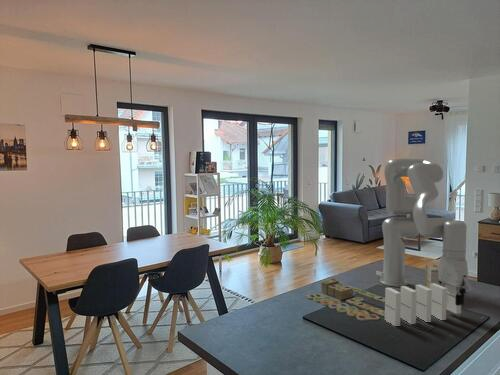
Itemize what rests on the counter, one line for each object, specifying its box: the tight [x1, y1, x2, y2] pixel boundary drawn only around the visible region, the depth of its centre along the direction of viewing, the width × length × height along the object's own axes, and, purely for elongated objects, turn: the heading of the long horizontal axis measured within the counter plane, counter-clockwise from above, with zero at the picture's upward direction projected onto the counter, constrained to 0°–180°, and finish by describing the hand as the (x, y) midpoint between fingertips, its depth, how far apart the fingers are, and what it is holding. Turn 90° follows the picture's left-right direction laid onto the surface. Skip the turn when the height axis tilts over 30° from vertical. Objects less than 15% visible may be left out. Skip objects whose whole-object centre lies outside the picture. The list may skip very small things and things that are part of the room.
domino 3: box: [414, 284, 432, 323], centre depth 135 cm, size 2×6×12 cm, turn 15°
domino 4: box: [430, 283, 447, 321], centre depth 137 cm, size 2×6×12 cm, turn 15°
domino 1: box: [384, 287, 401, 327], centre depth 132 cm, size 2×6×12 cm, turn 15°
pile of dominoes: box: [305, 277, 385, 322], centre depth 152 cm, size 35×27×6 cm
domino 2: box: [400, 286, 417, 325], centre depth 134 cm, size 2×6×12 cm, turn 15°
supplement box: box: [424, 264, 441, 289], centre depth 159 cm, size 8×5×13 cm, turn 168°
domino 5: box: [444, 283, 462, 315], centre depth 138 cm, size 2×6×12 cm, turn 15°
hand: (452, 301), depth 139 cm, fingers closed on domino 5, 5 cm apart
